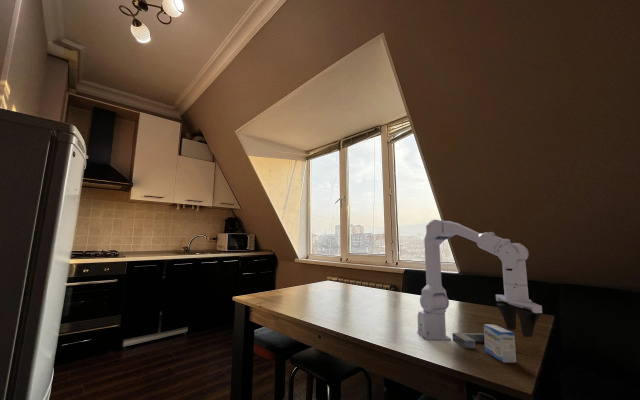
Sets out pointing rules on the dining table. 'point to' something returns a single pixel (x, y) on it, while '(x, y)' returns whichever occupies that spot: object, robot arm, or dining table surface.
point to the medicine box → (499, 343)
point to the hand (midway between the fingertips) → (519, 332)
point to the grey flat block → (468, 339)
